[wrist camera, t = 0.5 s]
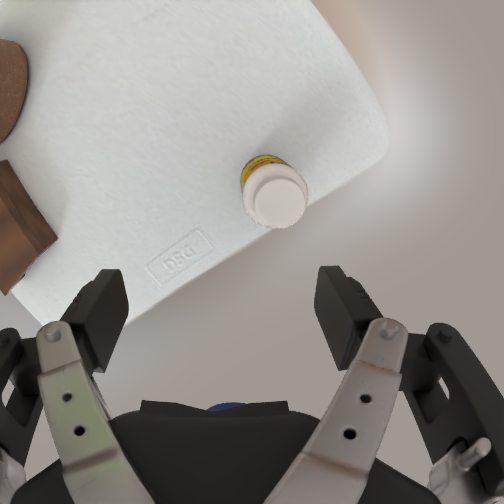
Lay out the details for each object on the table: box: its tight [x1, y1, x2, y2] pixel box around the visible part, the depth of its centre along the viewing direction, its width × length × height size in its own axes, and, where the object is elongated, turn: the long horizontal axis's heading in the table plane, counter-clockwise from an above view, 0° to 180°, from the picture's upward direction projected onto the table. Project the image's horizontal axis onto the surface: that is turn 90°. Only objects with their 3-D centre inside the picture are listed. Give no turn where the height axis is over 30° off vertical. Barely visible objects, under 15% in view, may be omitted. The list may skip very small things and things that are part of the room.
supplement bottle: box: [240, 155, 308, 228], centre depth 26 cm, size 6×6×10 cm
